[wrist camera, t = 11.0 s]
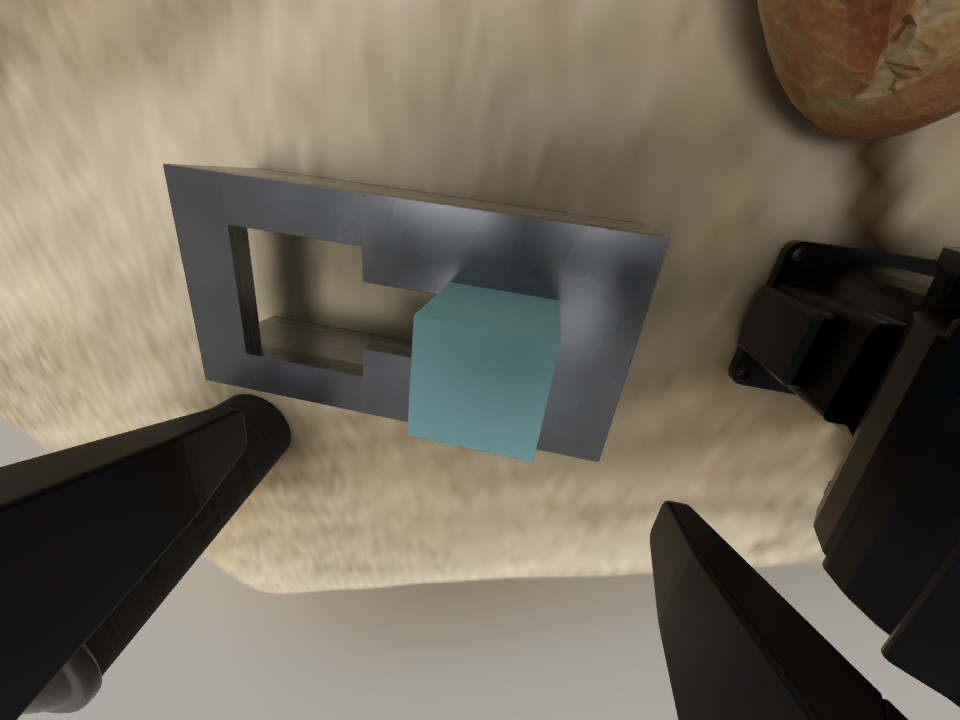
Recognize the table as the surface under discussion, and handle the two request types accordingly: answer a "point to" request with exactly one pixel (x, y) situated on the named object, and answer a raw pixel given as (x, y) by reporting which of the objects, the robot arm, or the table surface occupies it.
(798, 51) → the bread roll
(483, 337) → the peg
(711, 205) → the table surface
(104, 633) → the drinking cup
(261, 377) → the keyhole plate
